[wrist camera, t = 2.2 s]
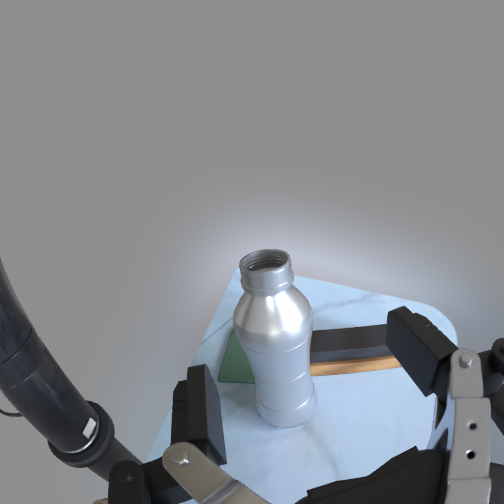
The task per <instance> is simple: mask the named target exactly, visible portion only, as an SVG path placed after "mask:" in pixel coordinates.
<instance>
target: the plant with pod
mask: <svg viewBox="0 0 504 504" xmlns="http://www.w3.org/2000/svg"><path fill="white" fill-rule="evenodd" d="M93 504H108V498H105V499H100V500H96V501H94V503H93Z"/></svg>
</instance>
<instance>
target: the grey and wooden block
mask: <svg viewBox="0 0 504 504" xmlns="http://www.w3.org/2000/svg"><path fill="white" fill-rule="evenodd" d="M386 326H387V324H382V325H373V326H364V327H354V328H342V329H330V330H316V331H312V337H311V344H310V372H311V376H320V375H334V374H346V373H357V372H366V371H374V370H382V369H389V368H396V367H402V366H401V364H400V363H399V362H398V360H397V359H396V358H395V357H394V355H393V354H392V353H391V352H390V350H389V349H388V347H387V344H386V340H385V336H386Z"/></svg>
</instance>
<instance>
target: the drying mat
mask: <svg viewBox="0 0 504 504" xmlns="http://www.w3.org/2000/svg"><path fill="white" fill-rule="evenodd" d="M218 381H220V382H243V383H255V379H254V374H253V371H252V369H251V366H250V363H249V360H248V358H247V356H246V354H245V352H244V350H243V348H242V346H241V344H240V342H239V340H238V338H237V336H236V333H235V330H234V327H233V330H232V334H231V337H230V340H229V343H228V347H227V350H226V353H225V356H224V360H223V363H222V366H221V369H220V373H219V376H218Z"/></svg>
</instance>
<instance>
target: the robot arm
mask: <svg viewBox="0 0 504 504" xmlns="http://www.w3.org/2000/svg"><path fill="white" fill-rule="evenodd" d="M385 340H386V344H387V347H388V349H389V350H390V352H391V353H392V354H393V355H394V357H395V358H396V359H397V360H398V362H399V363H400V364H401V366H402V367H403V368H404V369H405V371H406V372H407V373H408V375H409V376H410V377H411V378H412V380H413V381H414V382H415V384H416V385H417V386H418V388H419V389H420V390H421V392H422V393H423V394H424V396H425V397H427V396H429V395H430V394H432V393H435V394H436V398H435V406H434V416H433V425H432V432H431V437H430V440H429V442H428V445H427V449H425V450H420V451H419V450H418V449H417V447H416V446H414V447H412V448H411V449H409V450H407V451H405V452H403V453H401V454H399V455H397V456H395V457H393V458H391V459H390V460H389V461H387V462H386V463H385V464H384V465H382V466H381V467H380V468H378V469H377V470H376V471H374V472H373V473H371V474H370V475H368V476H365V477H360V478H354V479H348V480H341V481H335V482H332V483H329V484H326V485H323V486H320V487H316V488H313V489H310V490H307V494H308V496H306V497H304V498H302V499H300V500H299V501H297V502H296V503H295V504H504V465H501V464H497V463H492V462H490V449H491V418H492V419H493V421H494V422H495V423H496V425H497V427H498V428H499V429H500V431H501V432H502V434H503V435H504V384H503V382H504V338H500V339H497V340H496V341H495V342H494V343H493V346H492V348H491V350H488V351H485V352H481V353H476V352H475V351H473V350H471V349H467V348H462V349H459V348H458V347H457V346H456V345H455V344H453V343H452V342H451V341H450V340H449V339H448V338H447V337H446V336H445V335H444V334H443V333H442V332H441V331H440V330H438V328H437V327H436V326H435V325H433V323H432V322H431V321H429V320H428V319H427V318H426V317H425V316H422V315H420V314H418V313H414V314H413V313H412V312H411V311H410V310H409V309H408V308H407V307H405V306H402V307H399V308H397V309H394V310H392V311H389V312H388V316H387V326H386V336H385ZM0 391H1V392H2V393H3V394H4V395H5V397H6V398H7V399H8V400H9V401H10V402H11V403H12V405H13V406H14V407H15V408H16V409H17V410H18V411H19V412H20V413H8V412H4V411H2V410H1V409H0V413H2V414H4V415H6V416H9V417H22V416H24V417H25V418H26V419H27V420H28V421H29V422H30V423H31V424H32V425H33V426H34V427H35V428H36V429H37V430H38V431H39V432H40V433H41V434H42V435H43V436H44V437H45V438H47V439H48V440H49V441H50V442H51V443H52V444H53V445H54V446H55V447H56V448H57V449H58V450H59V451H61V452H62V453H64V454H67V455H79V454H82V453H84V452H86V451H88V450H89V449H90V448H91V447H92V446H93V445H94V444H95V443H96V441H97V440H98V438H99V435H100V432H101V420H100V417H99V415H98V413H97V412H96V411H95V410H94V409H93V408H92V407H91V406H90V405H89V404H88V403H87V402H86V400H85V399H84V398H83V397H82V395H81V394H80V393H79V392H78V390H77V389H76V388H75V387H74V385H73V384H72V383H71V382H70V380H69V379H68V378H67V376H66V375H65V374H64V372H63V371H62V369H61V368H60V367H59V365H58V364H57V362H56V361H55V359H54V358H53V356H52V355H51V354H50V352H49V351H48V349H47V348H46V346H45V344H44V343H43V341H42V340H41V338H40V337H39V335H38V333H37V332H36V330H35V328H34V327H33V325H32V323H31V322H30V320H29V318H28V317H27V315H26V313H25V311H24V309H23V308H22V306H21V304H20V302H19V300H18V298H17V296H16V294H15V292H14V290H13V288H12V286H11V284H10V281H9V279H8V277H7V274H6V272H5V270H4V267H3V264H2V261H1V259H0ZM172 410H173V412H172V426H171V444H170V446H169V447H168V448H167V449H166V450H165V452H164V454H163V456H162V457H160V458H158V459H156V460H153V461H151V462H148V463H145V464H142V465H138V464H137V463H135V462H133V461H129V460H126V461H121V462H119V463H117V464H116V465H114V466H113V468H112V469H111V471H110V475H109V489H108V504H179V503H182V502H185V501H188V500H191V499H193V498H194V499H195V500H196V501H197V502H198V503H199V504H271V503H269V502H268V501H266V500H265V499H263V498H262V497H261V496H259V495H258V494H256V493H255V492H253V491H252V490H251V489H249V488H248V487H247V486H245V485H244V484H242V483H241V482H240V481H238V480H235V479H233V478H232V477H231V476H229V475H228V474H227V473H226V472H225V471H223V470H222V469H221V468H220V465H224V464H227V460H226V452H225V443H224V435H223V426H222V416H221V407H220V398H219V393H218V390H217V387H216V385H215V383H214V380H213V378H212V376H211V374H210V371H209V369H208V367H207V365H206V364H203V365H198V366H192V367H188V371H187V380H184V381H179V382H178V384H177V386H176V388H175V390H174V391H173V406H172Z"/></svg>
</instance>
